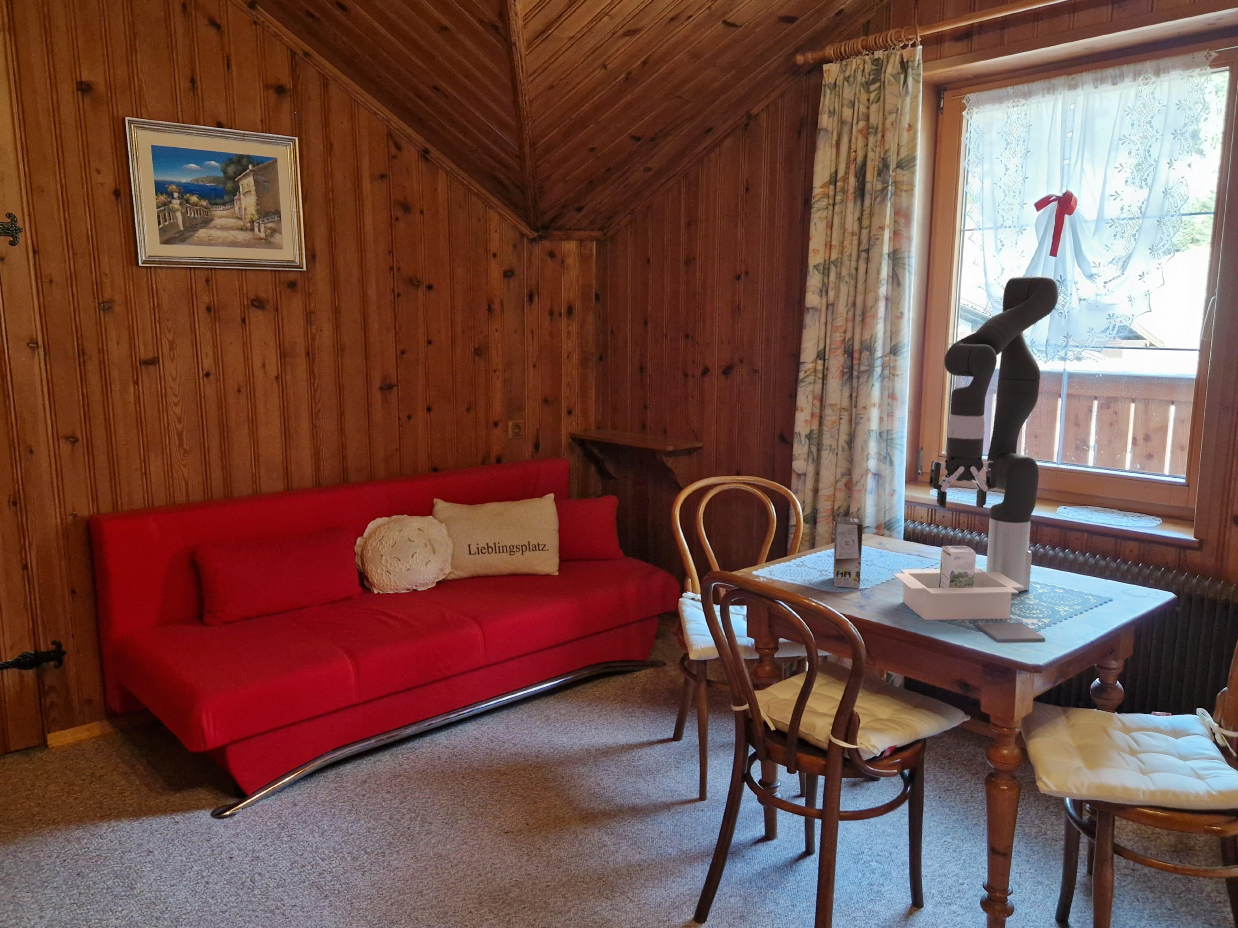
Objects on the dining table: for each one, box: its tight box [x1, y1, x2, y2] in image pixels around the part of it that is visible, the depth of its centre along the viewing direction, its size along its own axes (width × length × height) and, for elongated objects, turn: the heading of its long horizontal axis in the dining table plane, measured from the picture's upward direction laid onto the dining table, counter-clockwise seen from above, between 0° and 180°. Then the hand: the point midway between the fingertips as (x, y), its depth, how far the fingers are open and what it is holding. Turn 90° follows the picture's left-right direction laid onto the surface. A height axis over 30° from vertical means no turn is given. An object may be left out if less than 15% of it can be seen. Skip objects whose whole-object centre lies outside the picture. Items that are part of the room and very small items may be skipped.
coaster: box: [975, 621, 1046, 643], centre depth 192 cm, size 10×10×1 cm
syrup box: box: [939, 545, 977, 588], centre depth 207 cm, size 6×6×14 cm
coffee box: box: [833, 516, 864, 589], centre depth 228 cm, size 9×6×16 cm
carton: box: [892, 567, 1024, 621], centre depth 207 cm, size 25×19×7 cm
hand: (960, 507), depth 204 cm, fingers open, 8 cm apart
